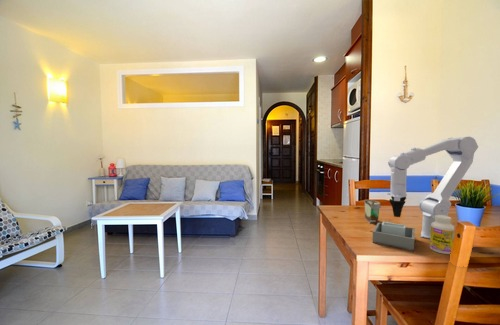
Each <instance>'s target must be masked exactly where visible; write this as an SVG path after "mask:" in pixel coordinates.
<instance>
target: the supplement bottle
mask: <svg viewBox="0 0 500 325" xmlns="http://www.w3.org/2000/svg"><path fill="white" fill-rule="evenodd" d="M450 222H452V217H450V216H448V215H447V216H444V215H435V222H432V223H431V236H430V238H429V241H430V242H429V248H430V250H431V251H433V252H436V253H439V254H443V255H451V254H450V252H451V248H452V243H453V239H454V240H455V226H454V225H453V224H452V223H451V224H450Z"/></svg>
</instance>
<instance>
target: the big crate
mask: <svg viewBox="0 0 500 325" xmlns="http://www.w3.org/2000/svg"><path fill="white" fill-rule="evenodd" d="M382 223H383V222H378V223H376V225H375V227H374V229H373V230H372V243H373V244H378V245H382V246H388V247H392V248H398V249H402V250H407V251H412V252H414V251H415V239H416V238H415V236H416V233H415V232H416V229H415V227H409V226H406V228H405V237H403V236H398V235H392V234H387V233H382Z"/></svg>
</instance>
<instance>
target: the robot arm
mask: <svg viewBox="0 0 500 325" xmlns="http://www.w3.org/2000/svg"><path fill="white" fill-rule="evenodd" d="M478 149H479V145H478V143H477V140H476V139H475V138H474V137H472V136H463V137H448V138H447V139H442V140H440V141H438V142H435V143H433V144H431V145H428V146H426V147H424V148H419V147H411V148H410V150H409V151H406V152H400V154H399V155H393V156H391V157H390V158H389V160H388V162H387V163H388V166H389V168H390V192H387V195H388V196H389V195H390V196H391V198H390V199H389V200H388V201H389V203H390V205H391V208H392V213H393V217H396V218H401V215H402V211H403V208H404V206H405V204H406V200H407V196H408V195H407V177H408V175H407V171H408V169H409V168H410V166H412V165H415V164H417V163H420V162H423V161H425V160H426V158H427V157H428V156H430V155H434V154H437V153H439V152H442V151H446V153H447V155H448V156H449V157H451V159H452V160H453V162H452V163H451V164H450V165H449V166H450V167H449V168H448V169H447V171H446V173H445V174H444V175H443V177H442V179H441V180H440V182H439V183H438V185H437V187H436V188H435V190H434V191H433V192H431V193H429V194H427V195H426V196H425V198H423V199H421V201H420V202H419V203H418V207H419V210H420V211H421V212H422V213H421V214H422V222H421V224H422V225H421V227H422V228H421V229H422V230H421V231H420V237H421V238H426V239H430V236H431V223H432V222H435V215H444V216H448V215H449V214H450V208H451V206H452V202H451V201H450V198H451V197H452V195H453V193H454V192H455V190H456V189H457V187H458V185H459V184H460V182H461V181H462V180H463V178H464V177H465V174H466V173H467V172H468V170H469V169H470V167H471V165H472V164H473V162H474V161H473V160H474V157H475V153H476V152H477V150H478ZM451 222H452V221H451ZM451 222H450V224H452V223H451Z"/></svg>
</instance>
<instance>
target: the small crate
mask: <svg viewBox="0 0 500 325" xmlns="http://www.w3.org/2000/svg"><path fill="white" fill-rule="evenodd" d="M381 223H382V233H387V234H392V235H398V236H403V237H405V228H406V227H407V226H406V224H399V223H393V222H387V221H382V222H381Z"/></svg>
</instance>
